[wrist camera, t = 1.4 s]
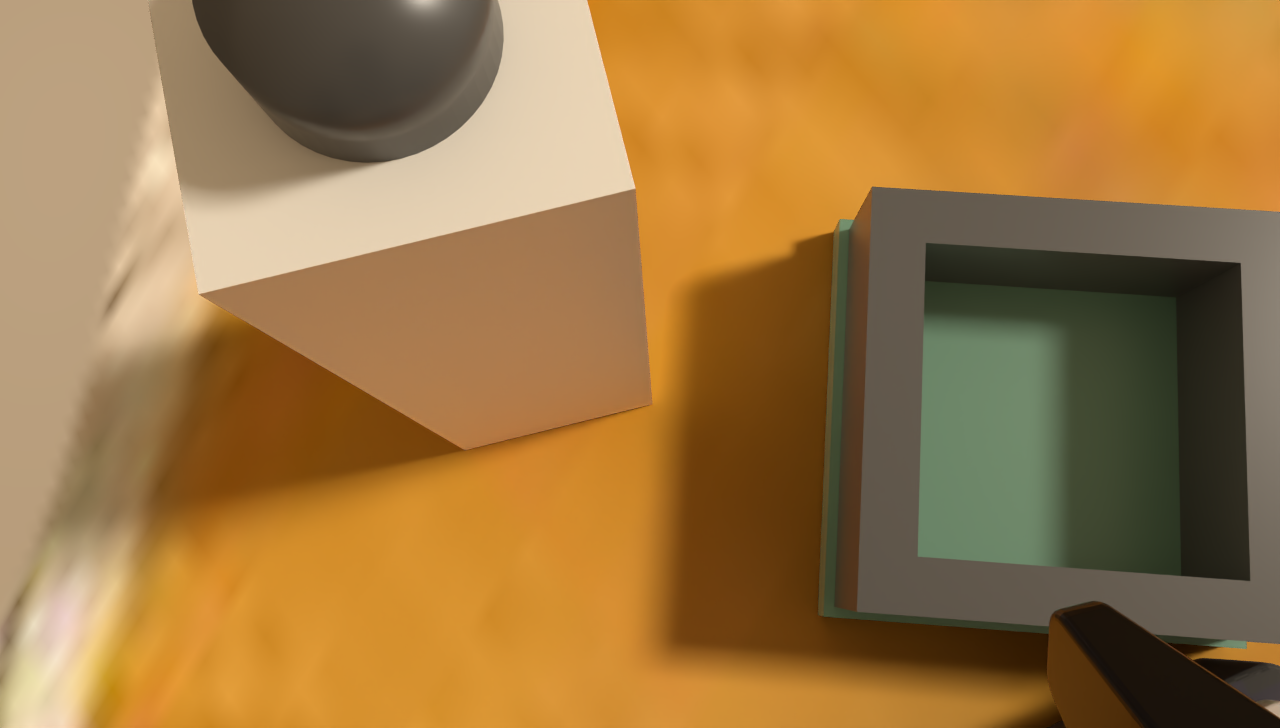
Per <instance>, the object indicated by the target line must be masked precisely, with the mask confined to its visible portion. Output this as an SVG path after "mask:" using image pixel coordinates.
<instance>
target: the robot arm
mask: <svg viewBox="0 0 1280 728" xmlns="http://www.w3.org/2000/svg"><path fill="white" fill-rule="evenodd" d="M1047 677H1048V683H1049V687H1050V690H1051V693H1052V696H1053V699H1054V702H1055V704H1056V706H1057V708H1058V711H1059V713H1060V715H1061V717H1062V720H1063V722H1064V724H1065V726H1066V728H1280V718H1279V717H1278V716H1276V715H1275V714H1273V713H1272V712H1270V711H1269V710H1267V709H1266V708H1264V707H1263V706H1261V705H1260V704H1258V703H1257V702H1255V701H1254V700H1252V699H1251V698H1249V697H1248V696H1246V695H1245V694H1243V693H1242V692H1240V691H1239V690H1237V689H1236V688H1234V687H1232V686H1231V685H1229V684H1228V683H1226V682H1225V681H1223V680H1222V679H1220V678H1219V677H1217V676H1216V675H1214V674H1213V673H1211V672H1210V671H1208V670H1207V669H1205V668H1204V667H1202V666H1201V665H1199V664H1198V663H1196V662H1195V661H1193V660H1192V659H1190V658H1188V657H1187V656H1185V655H1184V654H1182V653H1181V652H1179V651H1178V650H1176V649H1175V648H1173V647H1172V646H1170V645H1169V644H1167V643H1166V642H1164V641H1163V640H1161V639H1160V638H1158V637H1157V636H1155V635H1154V634H1152V633H1151V632H1149V631H1148V630H1146V629H1144V628H1143V627H1141V626H1140V625H1138V624H1137V623H1135V622H1134V621H1132V620H1131V619H1129V618H1128V617H1126V616H1125V615H1123V614H1122V613H1120V612H1119V611H1117V610H1116V609H1114V608H1113V607H1111V606H1109V605H1108V604H1106V603H1103V602H1099V601H1088V602H1084V603H1080V604H1077V605H1073V606H1069V607H1065V608H1061V609H1058V610H1056V611H1054V612H1053V614H1052V615H1051V617H1050V622H1049V638H1048V661H1047Z"/></svg>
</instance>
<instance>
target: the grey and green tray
mask: <svg viewBox="0 0 1280 728" xmlns="http://www.w3.org/2000/svg"><path fill="white" fill-rule="evenodd" d="M1088 601H1099V602H1103V603H1106V604H1108V605H1109V606H1111V607H1113V608H1114V609H1116V610H1117V611H1119V612H1120V613H1122V614H1123V615H1125V616H1126V617H1128V618H1129V619H1131V620H1132V621H1134V622H1135V623H1137V624H1138V625H1140V626H1141V627H1143V628H1144V629H1146V630H1148V631H1149V632H1151V633H1152V634H1154V635H1155V636H1157V637H1158V638H1160V639H1161V640H1163V641H1164V642H1166V643H1176V644H1189V645H1203V646H1216V647H1229V648H1242V649H1247V643H1246V641H1248V642H1261V643H1274V644H1280V212H1272V211H1256V210H1240V209H1224V208H1207V207H1191V206H1175V205H1159V204H1143V203H1126V202H1110V201H1094V200H1078V199H1062V198H1045V197H1029V196H1013V195H997V194H980V193H964V192H948V191H932V190H916V189H899V188H883V187H872V188H871V190H870V192H869V193H868V195H867V197H866V199H865V201H864V203H863V205H862V206H861V208H860V210H859V212H858V214H857V216H856V217H855V219H854V220H846V219H840V220H839V222H838V224H837V226H836V228H835V230H834V241H833V265H832V288H831V312H830V336H829V359H828V383H827V407H826V430H825V454H824V477H823V501H822V525H821V548H820V572H819V596H818V615H820V616H823V617H835V618H848V619H861V620H874V621H887V622H901V623H914V624H927V625H940V626H953V627H966V628H979V629H992V630H1006V631H1019V632H1032V633H1045V634H1049V622H1050V617H1051V615H1052V614H1053V612H1054V611H1056V610H1058V609H1061V608H1065V607H1069V606H1073V605H1077V604H1080V603H1084V602H1088Z"/></svg>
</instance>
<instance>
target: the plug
mask: <svg viewBox="0 0 1280 728" xmlns="http://www.w3.org/2000/svg"><path fill="white" fill-rule="evenodd" d="M148 4H149V10H150V16H151V22H152V28H153V33H154V39H155V45H156V51H157V57H158V62H159V68H160V74H161V80H162V86H163V91H164V97H165V103H166V109H167V114H168V120H169V126H170V132H171V138H172V143H173V149H174V155H175V161H176V167H177V172H178V178H179V184H180V190H181V196H182V201H183V207H184V213H185V219H186V224H187V230H188V236H189V242H190V248H191V253H192V259H193V265H194V271H195V277H196V282H197V288H198V294H199V295H201V296H203V297H204V298H206V299H208V300H209V301H211V302H213V303H214V304H216V305H218V306H220V307H221V308H223V309H225V310H226V311H228V312H230V313H232V314H233V315H235V316H237V317H238V318H240V319H242V320H243V321H245V322H247V323H249V324H250V325H252V326H254V327H255V328H257V329H259V330H260V331H262V332H264V333H266V334H267V335H269V336H271V337H272V338H274V339H276V340H278V341H279V342H281V343H283V344H284V345H286V346H288V347H289V348H291V349H293V350H295V351H296V352H298V353H300V354H301V355H303V356H305V357H307V358H308V359H310V360H312V361H313V362H315V363H317V364H318V365H320V366H322V367H324V368H325V369H327V370H329V371H330V372H332V373H334V374H336V375H337V376H339V377H341V378H342V379H344V380H346V381H347V382H349V383H351V384H353V385H354V386H356V387H358V388H359V389H361V390H363V391H365V392H366V393H368V394H370V395H371V396H373V397H375V398H376V399H378V400H380V401H382V402H383V403H385V404H387V405H388V406H390V407H392V408H394V409H395V410H397V411H399V412H400V413H402V414H404V415H405V416H407V417H409V418H411V419H412V420H414V421H416V422H417V423H419V424H421V425H422V426H424V427H426V428H428V429H429V430H431V431H433V432H434V433H436V434H438V435H440V436H441V437H443V438H445V439H446V440H448V441H450V442H451V443H453V444H455V445H457V446H458V447H460V448H462V449H463V450H468V449H472V448H476V447H480V446H484V445H488V444H492V443H497V442H501V441H505V440H509V439H513V438H517V437H521V436H525V435H529V434H533V433H537V432H541V431H545V430H549V429H553V428H557V427H561V426H566V425H570V424H574V423H578V422H582V421H586V420H590V419H594V418H598V417H602V416H606V415H610V414H614V413H618V412H622V411H626V410H630V409H635V408H639V407H643V406H647V405H651V404H652V393H651V380H650V368H649V355H648V342H647V330H646V317H645V304H644V292H643V279H642V266H641V254H640V241H639V228H638V216H637V203H636V190H635V185H634V181H633V177H632V174H631V170H630V166H629V162H628V158H627V154H626V150H625V146H624V142H623V139H622V135H621V131H620V127H619V123H618V119H617V115H616V111H615V107H614V104H613V100H612V96H611V92H610V88H609V84H608V80H607V76H606V72H605V69H604V65H603V61H602V57H601V53H600V49H599V45H598V41H597V37H596V34H595V30H594V26H593V22H592V18H591V14H590V10H589V6H588V2H587V0H148Z"/></svg>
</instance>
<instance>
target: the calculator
mask: <svg viewBox="0 0 1280 728" xmlns="http://www.w3.org/2000/svg"><path fill="white" fill-rule="evenodd" d="M1193 661H1195V662H1196V663H1198V664H1199V665H1201V666H1202V667H1204V668H1205V669H1207V670H1208V671H1210V672H1211V673H1213V674H1214V675H1216V676H1217V677H1219V678H1220V679H1222V680H1223V681H1225V682H1226V683H1228V684H1229V685H1231V686H1232V687H1234V688H1236V689H1237V690H1239V691H1240V692H1242V693H1243V694H1245V695H1246V696H1248V697H1249V698H1251V699H1252V700H1254V701H1255V702H1257V703H1258V704H1260V705H1261V706H1263V707H1264V708H1266V709H1267V710H1269V711H1270V712H1272V713H1273V714H1275V715H1276V716H1278V717H1279V718H1280V666H1278V665H1275V664H1271V663H1264V662H1252V661H1238V660H1224V659H1208V658H1200V659H1196V660H1193ZM1047 728H1066V726H1065V724H1064V722H1063V720H1062V721H1060V722H1058V723H1056V724H1054V725H1051V726H1049V727H1047Z"/></svg>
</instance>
